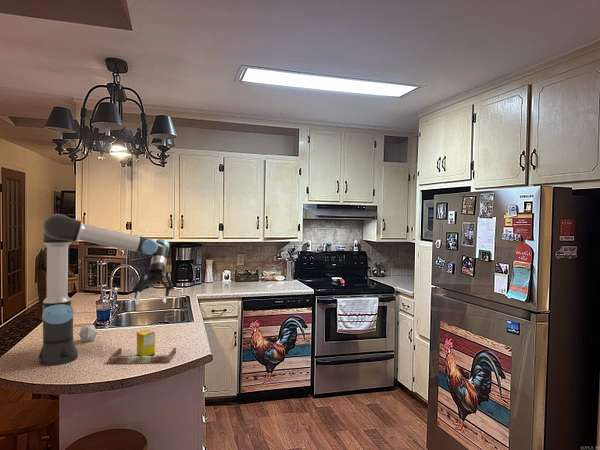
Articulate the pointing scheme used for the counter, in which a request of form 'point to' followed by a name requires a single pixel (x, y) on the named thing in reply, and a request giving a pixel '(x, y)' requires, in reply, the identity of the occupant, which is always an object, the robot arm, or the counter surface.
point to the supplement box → (146, 343)
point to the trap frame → (140, 358)
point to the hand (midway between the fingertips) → (150, 303)
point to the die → (88, 333)
